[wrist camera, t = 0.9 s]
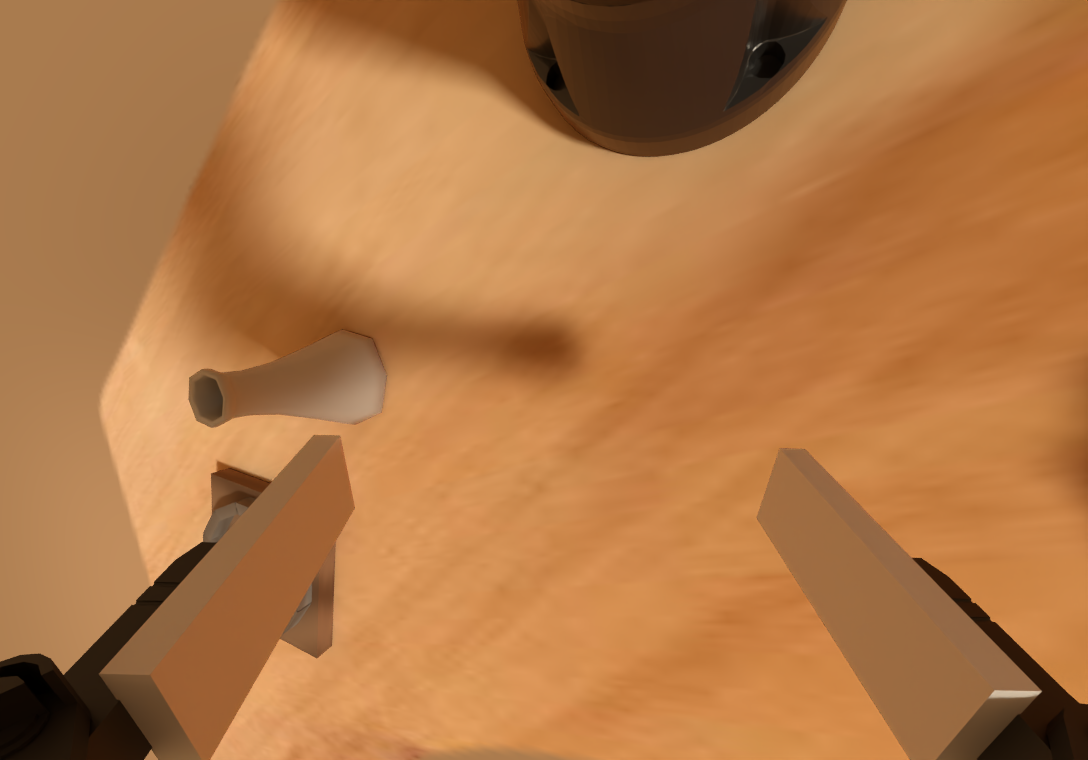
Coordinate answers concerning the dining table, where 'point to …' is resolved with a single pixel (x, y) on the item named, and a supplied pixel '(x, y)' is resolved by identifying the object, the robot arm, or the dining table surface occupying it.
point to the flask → (298, 385)
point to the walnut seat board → (316, 607)
